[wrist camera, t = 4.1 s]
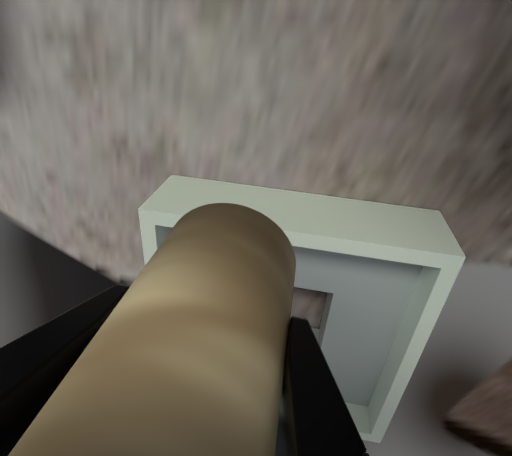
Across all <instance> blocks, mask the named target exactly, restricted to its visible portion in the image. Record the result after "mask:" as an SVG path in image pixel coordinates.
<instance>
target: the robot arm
mask: <svg viewBox="0 0 512 456" xmlns="http://www.w3.org/2000/svg"><path fill="white" fill-rule="evenodd" d="M129 288H130V286H127V285H122V284H117V285H114V286H112V287H110V288H109V289H107V290H105V291H103V292H101V293H100V294H98V295H96V296H94V297H92V298H90V299H89V300H87V301H85V302H83V303H81V304H80V305H78V306H76V307H74V308H72V309H70V310H69V311H67V312H65V313H63V314H61V315H60V316H58V317H56V318H54V319H52V320H51V321H49V322H47V323H45V324H43V325H41V326H40V327H38V328H36V329H34V330H32V331H31V332H29V333H27V334H25V335H23V336H21V337H20V338H18V339H16V340H14V341H12V342H10V343H9V344H7V345H5V346H3V347H2V348H0V456H8V455H9V454H10V452H11V451H12V449H13V448H14V447H15V445H16V444H17V442H18V441H19V440H20V438H21V437H22V436H23V434H24V433H25V431H26V430H27V429H28V427H29V426H30V425H31V423H32V422H33V420H34V419H35V418H36V416H37V415H38V413H39V412H40V411H41V409H42V408H43V407H44V405H45V404H46V402H47V401H48V400H49V398H50V397H51V395H52V394H53V393H54V391H55V390H56V389H57V387H58V386H59V384H60V383H61V382H62V380H63V379H64V377H65V376H66V375H67V373H68V372H69V371H70V369H71V368H72V366H73V365H74V364H75V362H76V361H77V360H78V358H79V357H80V355H81V354H82V353H83V351H84V350H85V348H86V347H87V346H88V344H89V343H90V342H91V340H92V339H93V337H94V336H95V335H96V333H97V332H98V330H99V329H100V328H101V326H102V325H103V324H104V322H105V321H106V319H107V318H108V317H109V315H110V314H111V313H112V311H113V310H114V308H115V307H116V306H117V304H118V303H119V301H120V300H121V299H122V297H123V296H124V295H125V293H126V292H127V290H128V289H129ZM276 456H369V454H368V453H366V448H365V446H364V443H363V441H362V439H361V436H360V434H359V432H358V430H357V428H356V425H355V423H354V421H353V419H352V416H351V414H350V412H349V410H348V408H347V405H346V403H345V401H344V399H343V396H342V394H341V392H340V390H339V388H338V385H337V383H336V381H335V379H334V376H333V374H332V372H331V370H330V368H329V365H328V363H327V361H326V359H325V356H324V354H323V352H322V350H321V348H320V345H319V343H318V341H317V339H316V336H315V334H314V332H313V330H312V328H311V325H310V323H309V321H308V320H307V319H305V318H299V317H291V319H290V324H289V333H288V341H287V350H286V359H285V368H284V377H283V386H282V395H281V404H280V413H279V422H278V430H277V439H276Z"/></svg>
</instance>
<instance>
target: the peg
mask: <svg viewBox="0 0 512 456" xmlns="http://www.w3.org/2000/svg"><path fill="white" fill-rule="evenodd" d="M295 272H296V258H295V253H294V250H293V247H292V245H291V243H290V241H289V239H288V237H287V236H286V234H285V233H284V232H283V230H282V229H281V228H280V227H279V226H278V225H277V224H276V223H275V222H274V221H272V220H271V219H270V218H268V217H267V216H265V215H264V214H262V213H260V212H258V211H256V210H254V209H252V208H249V207H246V206H243V205H238V204H233V203H212V204H206V205H203V206H200V207H197V208H195V209H193V210H191V211H189V212H188V213H186V214H185V215H184V216H183V217H181V218H180V219H179V220H178V222H177V223H176V224H175V225H174V227H173V228H172V230H171V231H170V232H169V234H168V235H167V236H166V238H165V239H164V241H163V242H162V243H161V245H160V246H159V248H158V249H157V250H156V252H155V253H154V254H153V256H152V257H151V259H150V260H149V261H148V263H147V264H146V265H145V267H144V268H143V270H142V271H141V272H140V274H139V275H138V277H137V278H136V279H135V281H134V282H133V283H132V285H131V286H130V288H129V289H128V290H127V292H126V293H125V295H124V296H123V297H122V299H121V300H120V301H119V303H118V304H117V306H116V307H115V308H114V310H113V311H112V313H111V314H110V315H109V317H108V318H107V319H106V321H105V322H104V324H103V325H102V326H101V328H100V329H99V330H98V332H97V333H96V335H95V336H94V337H93V339H92V340H91V342H90V343H89V344H88V346H87V347H86V348H85V350H84V351H83V353H82V354H81V355H80V357H79V358H78V360H77V361H76V362H75V364H74V365H73V366H72V368H71V369H70V371H69V372H68V373H67V375H66V376H65V377H64V379H63V380H62V382H61V383H60V384H59V386H58V387H57V389H56V390H55V391H54V393H53V394H52V395H51V397H50V398H49V400H48V401H47V402H46V404H45V405H44V407H43V408H42V409H41V411H40V412H39V413H38V415H37V416H36V418H35V419H34V420H33V422H32V423H31V425H30V426H29V427H28V429H27V430H26V431H25V433H24V434H23V436H22V437H21V438H20V440H19V441H18V442H17V444H16V445H15V447H14V448H13V449H12V451H11V452H10V454H9V455H8V456H275V448H276V439H277V430H278V422H279V413H280V404H281V395H282V386H283V377H284V368H285V359H286V350H287V341H288V333H289V324H290V316H291V307H292V298H293V290H294V281H295Z"/></svg>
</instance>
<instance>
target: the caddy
mask: <svg viewBox="0 0 512 456" xmlns="http://www.w3.org/2000/svg"><path fill="white" fill-rule="evenodd" d="M212 203H233V204H238V205H243V206H246V207H249V208H252V209H254V210H256V211H258V212H260V213H262V214H264V215H265V216H267V217H268V218H270V219H271V220H272V221H274V222H275V223H276V224H277V225H278V226H279V227H280V228H281V229H282V230H283V232H284V233H285V234H286V236H287V237H288V239H289V241H290V243H291V245H292V247H293V250H294V253H295V258H296V272H295V281H294V287H298V288H304V289H310V290H316V291H322V292H328V293H327V297H326V302H325V306H324V311H323V315H322V320H321V324H320V328H319V329H316V328H312V330H313V332H314V334H315V336H316V339H317V341H318V343H319V345H320V348H321V350H322V352H323V354H324V356H325V359H326V361H327V363H328V365H329V368H330V370H331V372H332V374H333V376H334V379H335V381H336V383H337V385H338V388H339V390H340V392H341V394H342V396H343V399H344V401H345V403H346V405H347V408H348V410H349V412H350V414H351V416H352V419H353V421H354V423H355V425H356V428H357V430H358V432H359V434H360V436H361V439H362V440H367V441H371V442H377V443H381V441H382V439H383V436H384V434H385V432H386V430H387V428H388V426H389V423H390V421H391V419H392V417H393V415H394V412H395V410H396V408H397V406H398V404H399V402H400V399H401V397H402V395H403V393H404V391H405V388H406V386H407V384H408V382H409V380H410V378H411V376H412V373H413V371H414V369H415V367H416V365H417V362H418V360H419V358H420V356H421V354H422V352H423V349H424V347H425V345H426V343H427V341H428V339H429V336H430V334H431V332H432V330H433V328H434V326H435V323H436V321H437V319H438V317H439V315H440V312H441V310H442V308H443V306H444V304H445V302H446V299H447V297H448V295H449V293H450V291H451V288H452V286H453V284H454V282H455V280H456V278H457V276H458V273H459V271H460V269H461V267H462V265H463V262H464V260H465V258H466V256H465V255H464V253H463V251H462V249H461V248H460V246H459V244H458V242H457V240H456V239H455V237H454V235H453V233H452V232H451V230H450V228H449V226H448V225H447V223H446V221H445V219H444V218H443V216H442V214H441V212H440V211H437V210H430V209H422V208H415V207H408V206H400V205H393V204H385V203H378V202H370V201H363V200H356V199H348V198H341V197H333V196H326V195H318V194H311V193H304V192H296V191H289V190H281V189H274V188H266V187H259V186H252V185H244V184H237V183H229V182H222V181H214V180H207V179H200V178H192V177H185V176H177V175H171V176H170V177H169V178H168V179H167V180H166V181H165V182H164V183H163V184H162V185H161V186H160V187H159V188H158V189H157V190H156V191H155V192H154V193H153V194H152V195H151V196H150V197H149V198H148V199H147V200H146V201H145V203H144V204H143V205H142V206H141V207H140V208H139V209H138V211H139V219H140V227H141V236H142V244H143V253H144V261H145V265H146V264H147V263H148V261H149V260H150V259H151V257H152V256H153V254H154V253H155V252H156V250H157V249H158V248H159V246H160V245H161V243H162V242H163V241H164V239H165V238H166V236H167V235H168V234H169V232H170V231H171V230H172V228H173V227H174V225H175V224H176V223H177V222H178V220H179V219H180V218H181V217H183V216H184V215H185V214H186V213H188V212H189V211H191V210H193V209H195V208H197V207H200V206H203V205H206V204H212Z"/></svg>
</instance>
